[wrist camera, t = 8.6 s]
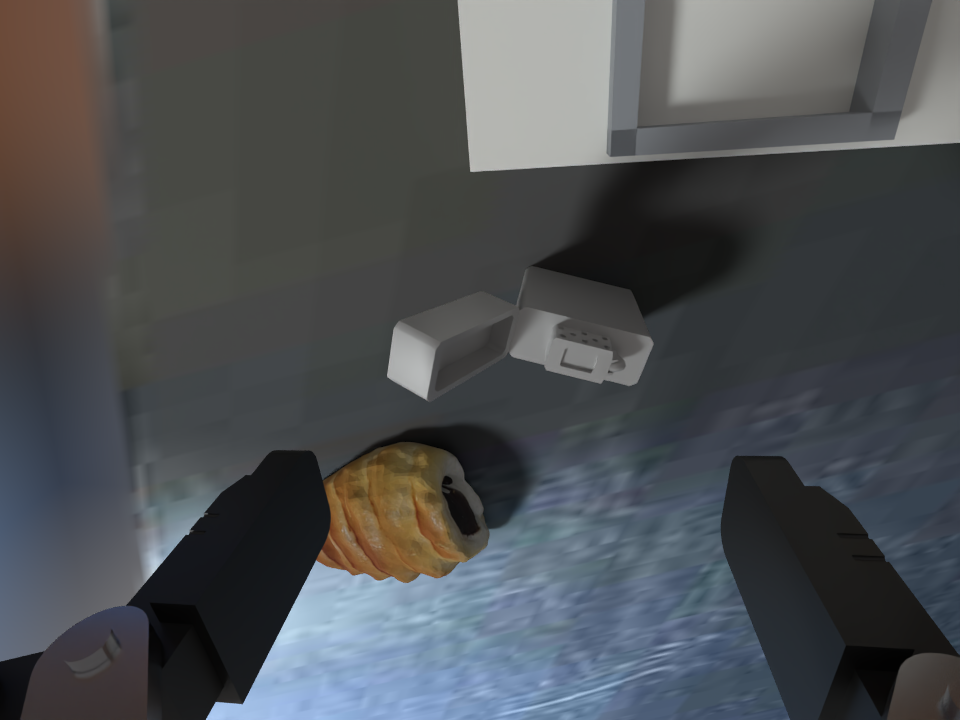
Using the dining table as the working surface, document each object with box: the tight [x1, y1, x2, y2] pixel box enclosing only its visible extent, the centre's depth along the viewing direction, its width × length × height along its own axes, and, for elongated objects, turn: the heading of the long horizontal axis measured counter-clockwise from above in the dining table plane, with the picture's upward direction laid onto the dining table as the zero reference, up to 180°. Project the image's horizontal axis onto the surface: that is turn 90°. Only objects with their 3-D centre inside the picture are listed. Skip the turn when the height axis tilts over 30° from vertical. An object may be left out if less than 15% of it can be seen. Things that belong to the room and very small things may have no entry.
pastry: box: [316, 442, 489, 583], centre depth 24 cm, size 9×7×4 cm
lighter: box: [387, 266, 654, 402], centre depth 16 cm, size 7×2×8 cm, turn 78°
